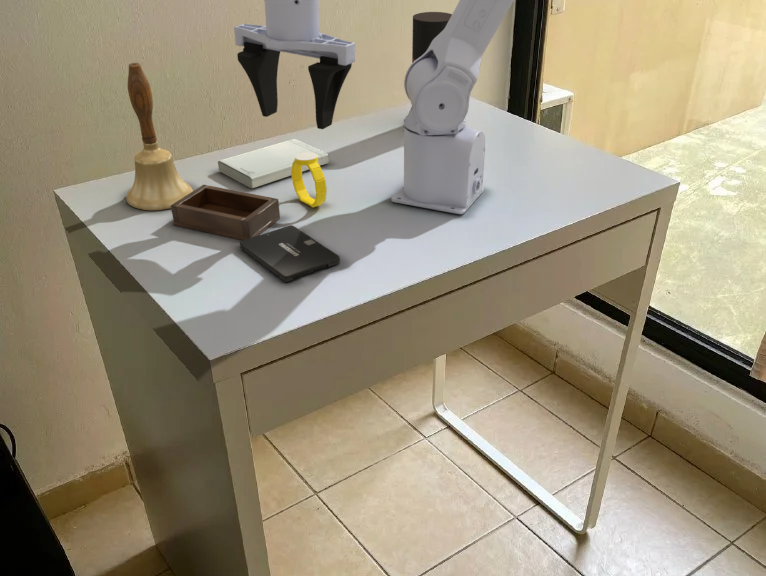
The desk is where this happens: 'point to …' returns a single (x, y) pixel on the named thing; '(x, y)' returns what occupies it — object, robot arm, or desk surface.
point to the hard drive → (268, 163)
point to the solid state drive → (289, 252)
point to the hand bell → (151, 154)
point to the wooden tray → (226, 212)
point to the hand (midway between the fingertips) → (296, 120)
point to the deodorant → (427, 30)
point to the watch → (317, 174)
